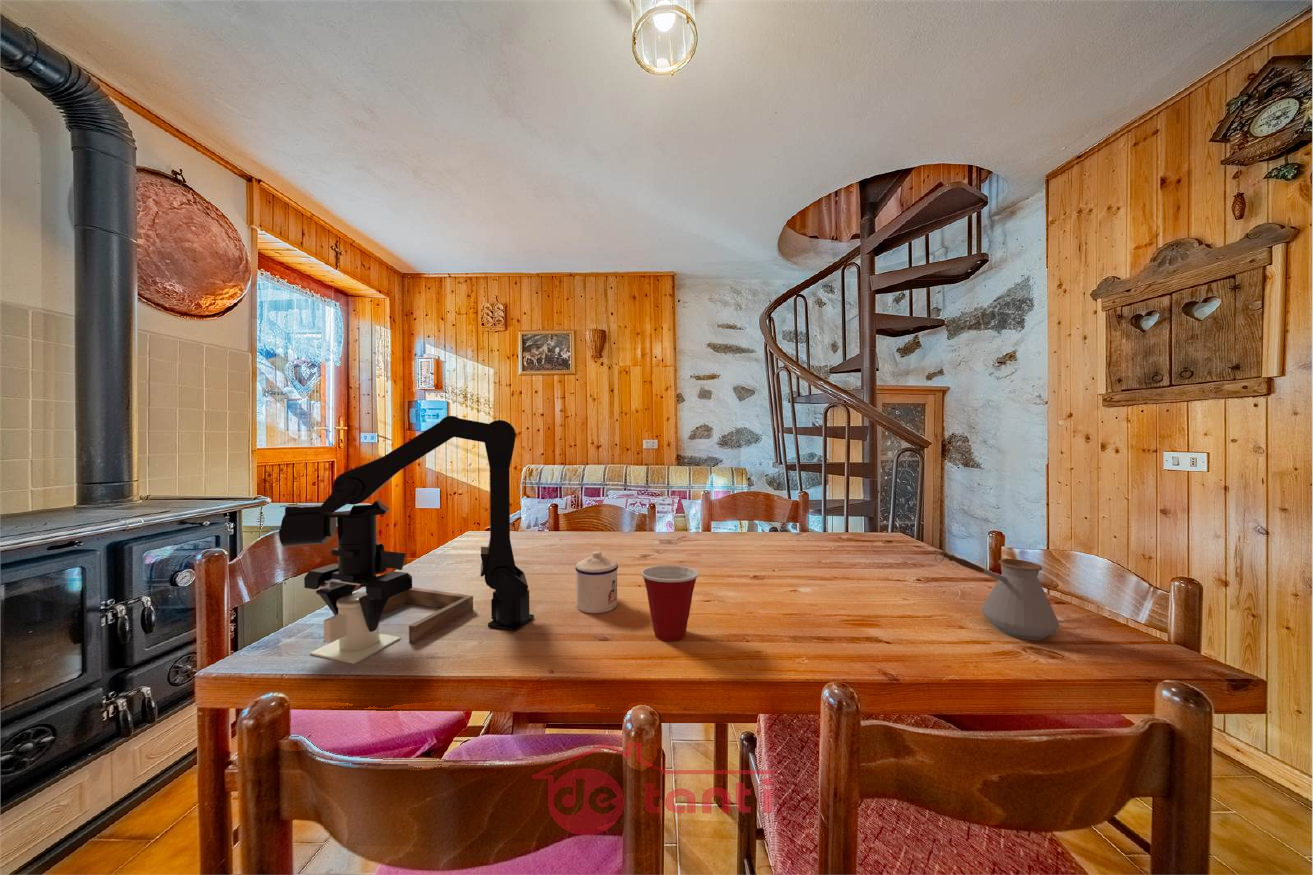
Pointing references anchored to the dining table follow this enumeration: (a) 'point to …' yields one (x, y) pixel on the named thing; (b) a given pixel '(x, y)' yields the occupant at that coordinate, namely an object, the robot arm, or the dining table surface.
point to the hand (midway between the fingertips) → (359, 628)
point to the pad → (353, 656)
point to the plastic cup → (669, 599)
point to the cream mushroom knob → (350, 625)
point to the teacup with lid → (596, 584)
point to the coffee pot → (1016, 599)
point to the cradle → (449, 603)
